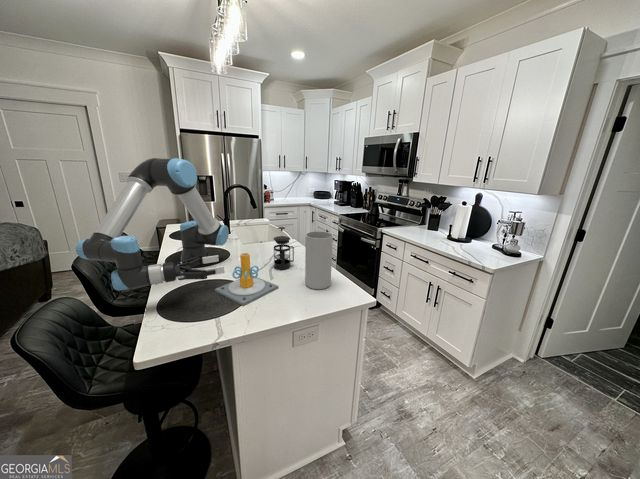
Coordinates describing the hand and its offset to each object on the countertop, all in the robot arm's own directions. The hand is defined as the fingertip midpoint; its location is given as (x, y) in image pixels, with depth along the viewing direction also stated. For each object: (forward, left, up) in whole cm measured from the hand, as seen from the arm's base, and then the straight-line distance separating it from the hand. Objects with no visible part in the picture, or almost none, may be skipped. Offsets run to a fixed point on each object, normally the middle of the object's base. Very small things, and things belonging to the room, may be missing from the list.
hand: (221, 263), depth 109 cm
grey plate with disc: (+5, +9, -14) cm, 18 cm away
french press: (-1, +39, -15) cm, 41 cm away
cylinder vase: (+27, +34, -15) cm, 46 cm away
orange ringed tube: (+5, +9, -12) cm, 16 cm away
